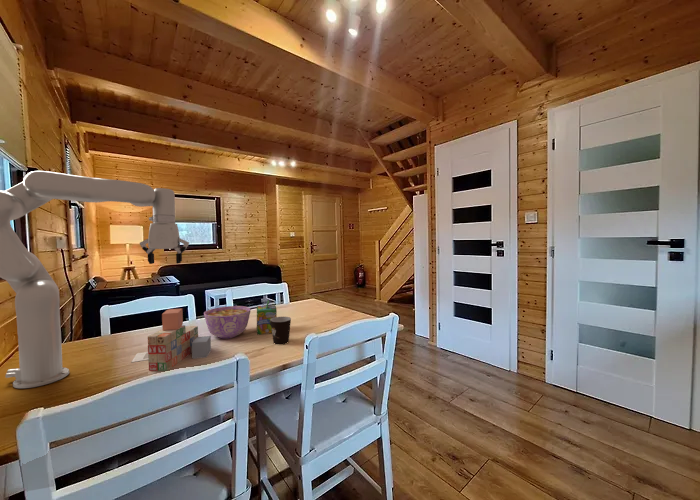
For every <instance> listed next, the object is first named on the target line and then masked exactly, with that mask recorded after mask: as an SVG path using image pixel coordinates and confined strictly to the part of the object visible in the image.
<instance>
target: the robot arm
mask: <svg viewBox="0 0 700 500" xmlns="http://www.w3.org/2000/svg"><path fill="white" fill-rule="evenodd" d="M175 195H176V194H175V192H174V190H173V189H170V188H164V187H163V188H162V187H157V188H156V187H155V188H153V187H152V186H151V185H149V184H145V183H141V182H134V181H129V180H128V181H127V180H121V179H109V178H102V177H101V178H100V177H91V176H90V177H89V176H82V175H74V174H69V173H67V174H66V173H61V172H53V171H47V170H46V171H45V170H34V171H30V172H28V173H27V174H26V175H25V176H24V177H23V181H21V182H19V183H18V184H15V185H14V186H12V187H10V188H8V189H5V190H0V279H2V280H6V282H7V284H9V286H10V288H11V289H12V290H13V291H14V292H15V294H16V295H15V297H14V307H15V314H16V315H15V317H16V326H17V329H16V330H17V341H18V342H17V343H18V363H19V368H10V369H8V370H7V371H6V373H5V378H6V379H8V378H15V380H14V381H13V382H12V387H13V388H15V389H32V388H36V387H37V388H38V387H42V386H44V385H48V384H52V383H55V382H57V381H60V380H62V379H64V378H65V377H67V376H68V375H69V374H70V369H69V368H67V367H63V349H62V348H63V347H62V331H61V313H60V312H61V309H60V303H61V302H60V301H61V300H60V290H59V286H58V285H57V283H56V281H55V280H54V279H53V277H52V276H51V275H50V273H49V271H47V269H46V268H45V266H44V264H43V263H42V262H41V261H40V259H39V258H38V257H37V255H35V254H34V253H32V252H31V251H29V250H28V249H27V248H26V246H25V245H24V244H23V242H22V241H21V239H20V237H19V236H18V234H17V233H16V232H15V230H14V229H13V227H12V225H11V221H14V220H18V219H20V218H22V217H24V216H25V215H27V214H29V213H31V212H32V211H35V210H36V209H38V208H40V207H41V206H44V205H45V204H47V203H48V202H49V203H50V202H51V201H52V200H53V199H54V200H63V201H71V202H83V203H85V202H86V203H104V202H117V203H118V202H119V203H129V204H131V205H132V206H135V207H138V208H139V207H152V216H150V217H148V221H149V222H150V221H151V222H152V223H150V225H149V228H148V229H149V230H148V238H146V239H144V240H143V241H142V240H141V241H140V242H139V245H140V247H141V249H142V251H144V252H145V253H146V254H147V262H148V264H149V265H153V264H155V253H154V251H156V250H173V249H174V250H175V252H176V253H175V259H176V260H175V263H176V264H181V263H182V261H183V253H184V252H185V251H186V250H187V249H188V248H187V247H189V244H190V242H189V241H187V240H185V239H182V238H180V231H179V227H178V223H176V201H175V199H176V197H175ZM181 243H182V247H181V248H180V245H181ZM147 244H148V245H147ZM147 246H148V247H147Z"/></svg>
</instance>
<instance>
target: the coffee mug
mask: <svg viewBox="0 0 700 500" xmlns="http://www.w3.org/2000/svg"><path fill="white" fill-rule="evenodd" d="M291 319H292V318H291V317H290V316H277V317H275V318H272V319H271V320H270V325H271V328H272V333H271V334H272V341H273V344H274V343H275V344H274V345H276V344H283V345H286V344H285V343H287V342H288V343H289V340H290V331H291V322H292V321H291ZM288 343H287V344H288Z"/></svg>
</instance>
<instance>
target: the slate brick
mask: <svg viewBox="0 0 700 500" xmlns="http://www.w3.org/2000/svg"><path fill="white" fill-rule="evenodd" d="M211 340H212V339H211V335H209V336H208V335H207V336H206V335H205V336H198V337H196V339H195V340H194V341H193V342H192V353H191V358H192V359H200V358H202V359H203V358H208V356H209V355H210V353H211V351H212V348H211V347H212V346H211V345H212V344H211V343H212V341H211Z"/></svg>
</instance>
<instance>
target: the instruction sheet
mask: <svg viewBox="0 0 700 500" xmlns="http://www.w3.org/2000/svg"><path fill="white" fill-rule="evenodd" d="M144 361H149V357H148V351H145V352H137V353H136V354H135V356H134V357H133V359H132V360H131V363H136V362H144Z"/></svg>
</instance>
